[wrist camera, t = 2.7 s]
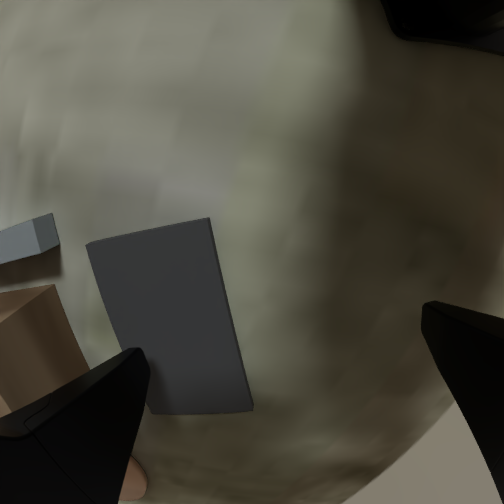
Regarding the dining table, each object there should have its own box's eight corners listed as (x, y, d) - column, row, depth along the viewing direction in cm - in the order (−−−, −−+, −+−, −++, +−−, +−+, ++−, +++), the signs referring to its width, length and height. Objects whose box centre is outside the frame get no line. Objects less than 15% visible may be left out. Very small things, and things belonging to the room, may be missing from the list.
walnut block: (55, 283, 11) (-28, 343, 6) (98, 383, 12) (49, 461, 7) (-9, 293, 11) (-75, 338, 6) (30, 378, 12) (-18, 435, 8)
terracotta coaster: (106, 415, 12) (102, 423, 12) (169, 501, 15) (167, 508, 14) (4, 398, 13) (-1, 403, 13) (68, 481, 16) (66, 486, 15)
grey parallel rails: (52, 213, 10) (32, 219, 8) (137, 427, 12) (130, 444, 11) (-55, 255, 10) (-69, 261, 9) (13, 407, 13) (4, 418, 12)
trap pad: (209, 217, 9) (206, 219, 9) (253, 403, 12) (253, 410, 11) (91, 241, 10) (85, 244, 9) (154, 408, 12) (152, 414, 12)
